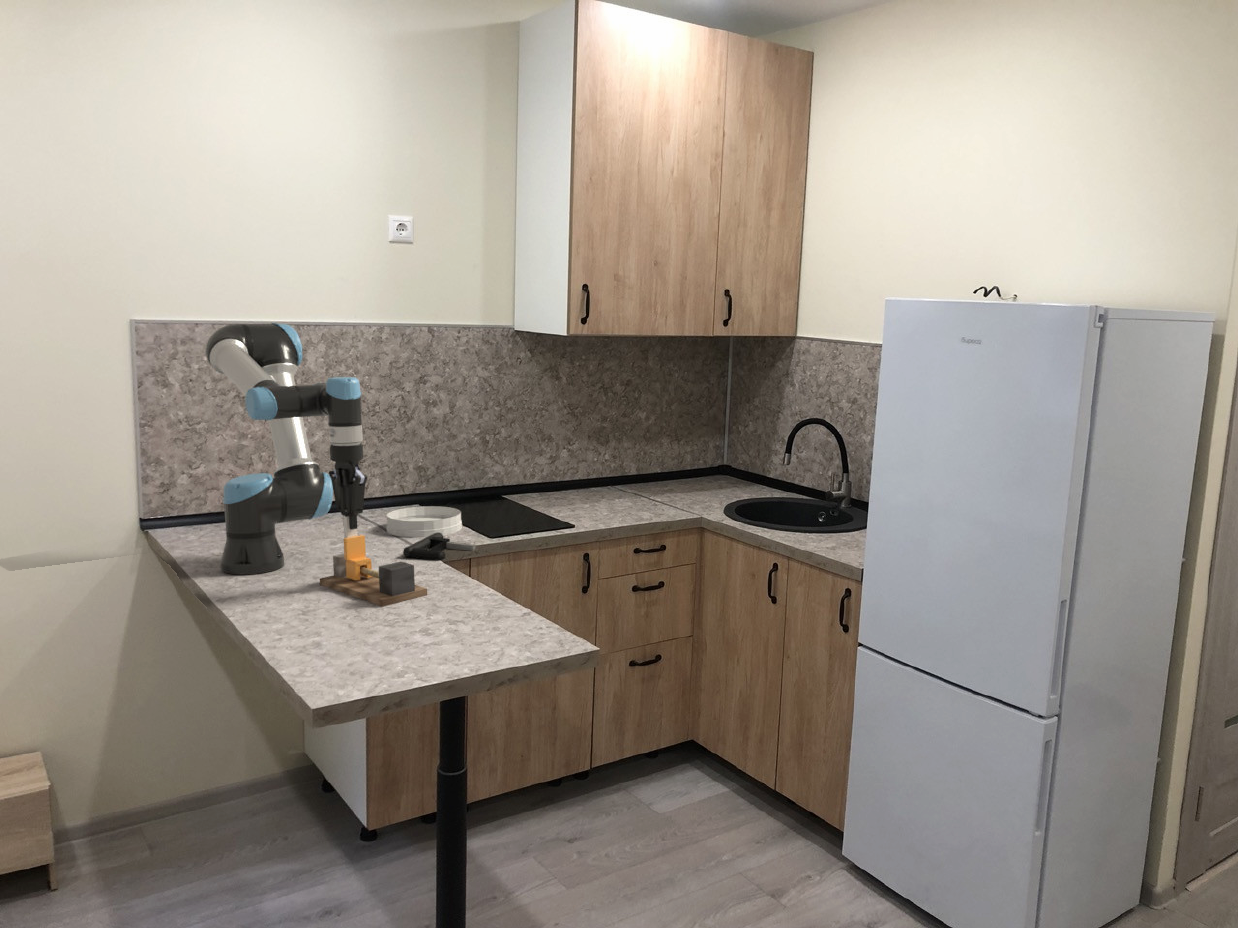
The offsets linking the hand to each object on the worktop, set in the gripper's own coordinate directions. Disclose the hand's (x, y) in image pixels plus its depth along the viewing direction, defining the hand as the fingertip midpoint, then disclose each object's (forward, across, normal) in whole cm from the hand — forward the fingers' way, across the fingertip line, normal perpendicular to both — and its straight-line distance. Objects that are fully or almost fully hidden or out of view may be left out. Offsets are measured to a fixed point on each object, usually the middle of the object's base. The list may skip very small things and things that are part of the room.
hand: (351, 541), depth 232 cm
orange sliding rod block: (+8, +3, 0) cm, 9 cm away
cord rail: (+10, +8, 0) cm, 13 cm away
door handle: (+11, -10, +34) cm, 37 cm away
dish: (+10, -36, +47) cm, 60 cm away
